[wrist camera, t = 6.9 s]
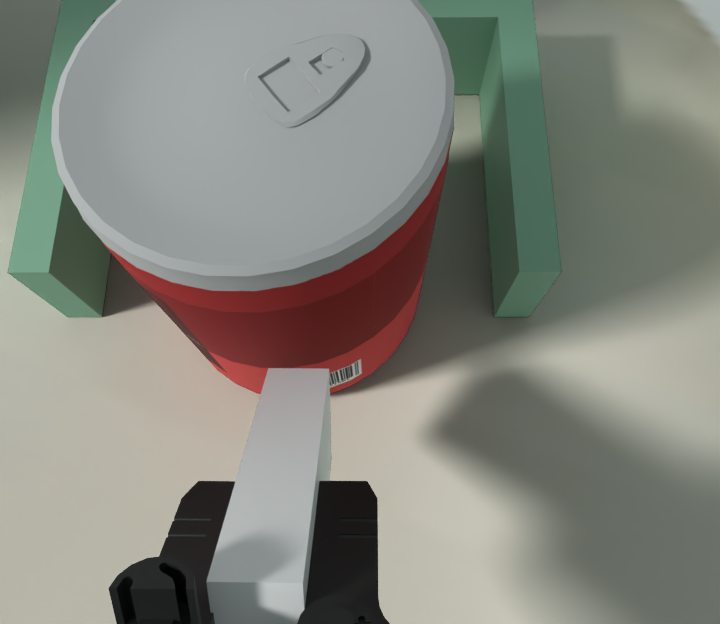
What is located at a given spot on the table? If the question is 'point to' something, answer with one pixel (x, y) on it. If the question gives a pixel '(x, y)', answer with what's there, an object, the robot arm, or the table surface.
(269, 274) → the canned food
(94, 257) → the green c-shaped bracket
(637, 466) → the table surface
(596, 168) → the table surface
